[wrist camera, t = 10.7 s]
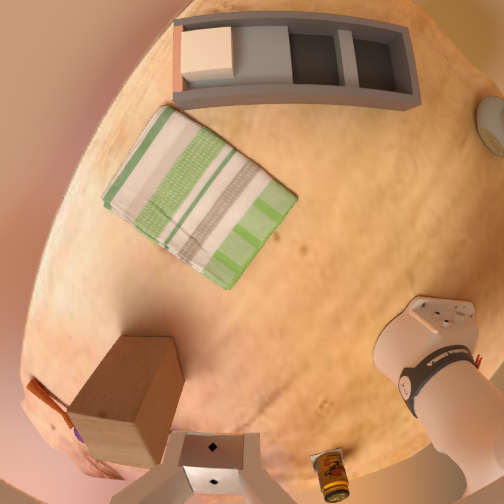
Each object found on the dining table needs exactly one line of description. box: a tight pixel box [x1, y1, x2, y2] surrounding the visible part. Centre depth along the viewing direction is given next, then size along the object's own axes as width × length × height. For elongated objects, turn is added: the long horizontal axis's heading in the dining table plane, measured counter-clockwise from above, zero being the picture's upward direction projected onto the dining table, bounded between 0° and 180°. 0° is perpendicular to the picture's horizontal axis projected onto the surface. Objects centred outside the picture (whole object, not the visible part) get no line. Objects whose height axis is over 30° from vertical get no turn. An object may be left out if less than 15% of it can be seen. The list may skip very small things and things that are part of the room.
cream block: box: [181, 27, 234, 82], centre depth 31 cm, size 6×6×4 cm
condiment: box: [310, 448, 349, 503], centre depth 49 cm, size 7×8×12 cm
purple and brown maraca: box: [27, 379, 85, 443], centre depth 49 cm, size 6×6×20 cm
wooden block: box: [67, 336, 184, 469], centre depth 37 cm, size 10×10×20 cm
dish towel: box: [101, 105, 298, 290], centre depth 39 cm, size 17×23×4 cm
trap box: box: [173, 11, 421, 111], centre depth 33 cm, size 32×12×6 cm, turn 93°
